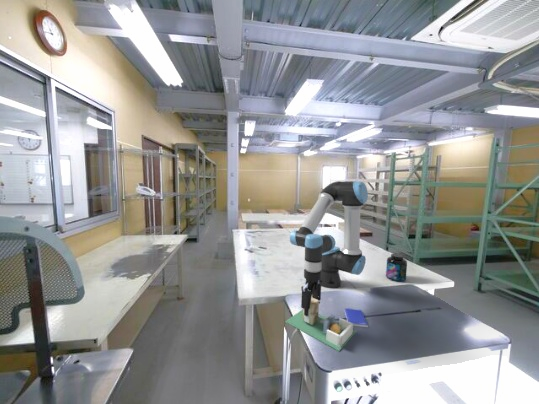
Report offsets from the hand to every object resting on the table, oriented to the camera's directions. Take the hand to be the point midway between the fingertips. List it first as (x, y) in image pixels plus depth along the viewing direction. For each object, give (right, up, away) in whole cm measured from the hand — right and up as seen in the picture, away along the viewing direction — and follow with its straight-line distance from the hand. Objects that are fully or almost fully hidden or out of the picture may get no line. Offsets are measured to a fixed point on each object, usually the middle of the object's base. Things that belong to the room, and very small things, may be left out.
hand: (310, 319), depth 104 cm
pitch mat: (+3, -2, -3) cm, 5 cm away
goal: (+10, -3, -9) cm, 14 cm away
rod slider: (+3, -1, -2) cm, 4 cm away
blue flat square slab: (+22, -3, +4) cm, 22 cm away
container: (+67, +1, +51) cm, 84 cm away
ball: (+9, 0, -8) cm, 12 cm away
